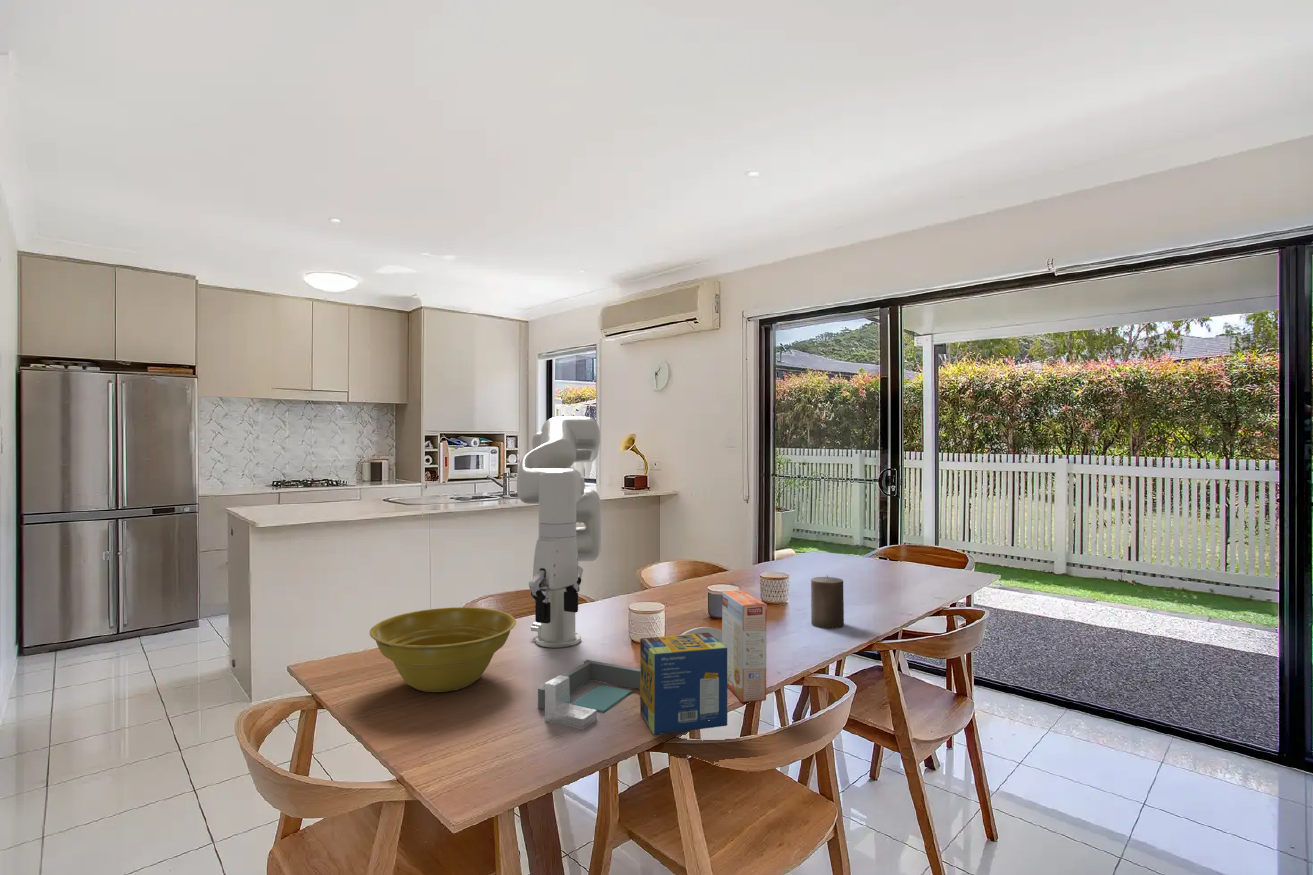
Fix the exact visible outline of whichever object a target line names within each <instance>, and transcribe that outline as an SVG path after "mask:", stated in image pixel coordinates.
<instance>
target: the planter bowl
mask: <svg viewBox="0 0 1313 875" xmlns="http://www.w3.org/2000/svg"><path fill="white" fill-rule="evenodd" d="M516 623H517V620H516V618H515V617H514V616H513V615H511V614H510V613H507V612H504V611H501V610H498V609H497V610H496V609H491V608H484V607H470V606H469V607H467V606H465V607H464V606H463V607H462V606H461V607H460V606H459V607H458V606H457V607H441V608H440V607H439V608H431V609H423V610H416V611H411V612H406V613H402V614H399V615H394V616H392V617H389V618H386V619H383V620H381V621H379V622H378V623H376V624H375V625H373V626H372V627H371V628H370V630H369V636H370V638H372V639H373V640H374V641H375V642H376V645H377V647H378V649H379V652H380V653H381V654H382V656H383V657H385V658H387V659H389V660H390V661H391V662H392V663H393V664H394V666H395V668H396V670H397V673H399V675H400V676H401V678H402V679H403V681H404V682H405V683H406V684H407V685H408V686H411V687H412V688H413V689H416V690H417V691H422V692H426V693H427V692H428V693H444V692H445V693H446V692H453V691H456V690H457V691H458V690H460V689H464V688H467V687H468V686H470V685H472V684H473V683H475V681H477V680H478V679H480V678H481V677H482V675H483V674H484V673H485V671H486V669H487V668H488V666H489V664H490V663H491V661H492V658H493V656H494V655H495V653H496V652H497V651H498V650H500V649H501V648H502V647H503V646H504V645H505V644H506V642H507V640H508V638H509V636H510V634H511V630H513V629H514V628H515V626H516V625H517V624H516Z"/></svg>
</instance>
